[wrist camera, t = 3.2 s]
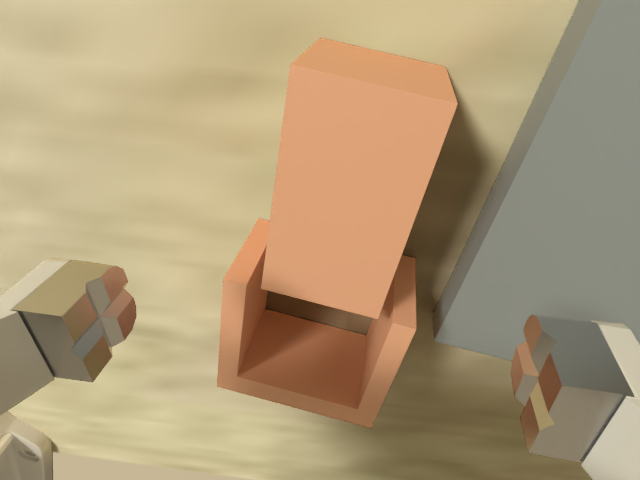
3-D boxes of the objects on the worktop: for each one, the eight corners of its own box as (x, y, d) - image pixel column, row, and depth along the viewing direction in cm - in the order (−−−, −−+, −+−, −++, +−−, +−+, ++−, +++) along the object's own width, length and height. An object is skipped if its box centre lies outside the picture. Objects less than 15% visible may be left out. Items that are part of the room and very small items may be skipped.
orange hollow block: (377, 353, 20) (371, 428, 17) (247, 319, 21) (217, 386, 18) (487, 76, 13) (513, 117, 10) (280, 28, 13) (237, 52, 10)
